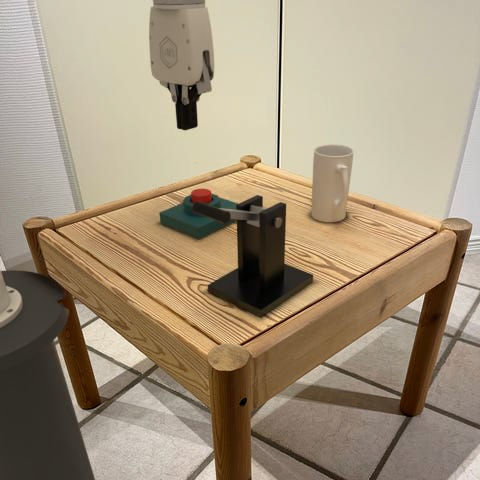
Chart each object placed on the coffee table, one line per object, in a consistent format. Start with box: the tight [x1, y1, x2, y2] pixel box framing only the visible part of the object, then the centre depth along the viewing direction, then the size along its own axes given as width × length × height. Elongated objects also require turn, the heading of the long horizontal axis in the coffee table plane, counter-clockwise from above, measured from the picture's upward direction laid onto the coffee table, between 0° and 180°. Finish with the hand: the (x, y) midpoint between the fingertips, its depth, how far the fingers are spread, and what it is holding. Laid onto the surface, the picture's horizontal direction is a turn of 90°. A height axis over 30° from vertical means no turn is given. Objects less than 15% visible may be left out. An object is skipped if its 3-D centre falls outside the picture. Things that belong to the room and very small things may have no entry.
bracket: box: [207, 194, 314, 318], centre depth 71 cm, size 12×10×13 cm
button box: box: [158, 192, 239, 240], centre depth 93 cm, size 12×10×4 cm
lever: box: [193, 201, 268, 227], centre depth 65 cm, size 12×5×2 cm, turn 138°
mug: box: [310, 143, 355, 223], centre depth 90 cm, size 10×7×12 cm, turn 12°
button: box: [190, 188, 212, 204], centre depth 91 cm, size 4×4×2 cm
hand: (187, 127), depth 84 cm, fingers closed
